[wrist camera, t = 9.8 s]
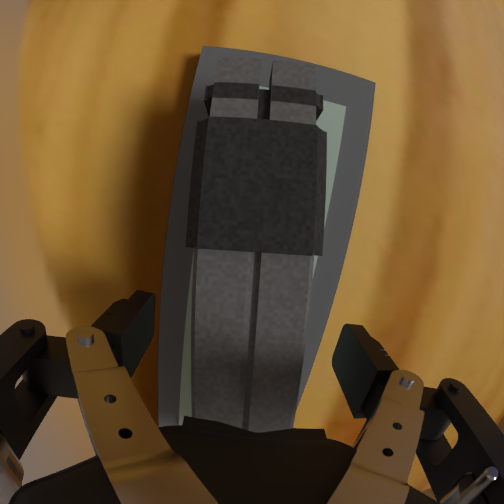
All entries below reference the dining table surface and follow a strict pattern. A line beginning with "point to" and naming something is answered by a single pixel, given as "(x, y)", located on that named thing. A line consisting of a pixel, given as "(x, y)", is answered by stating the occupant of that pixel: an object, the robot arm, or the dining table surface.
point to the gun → (254, 241)
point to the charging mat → (335, 226)
